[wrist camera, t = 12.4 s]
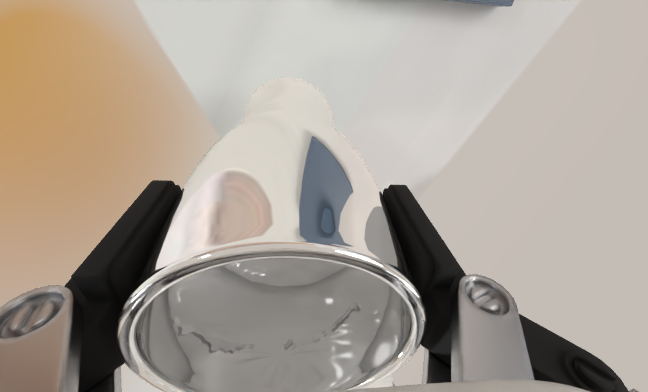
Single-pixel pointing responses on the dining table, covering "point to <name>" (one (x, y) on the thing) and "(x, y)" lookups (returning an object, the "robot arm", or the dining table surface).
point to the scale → (488, 2)
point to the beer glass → (275, 264)
